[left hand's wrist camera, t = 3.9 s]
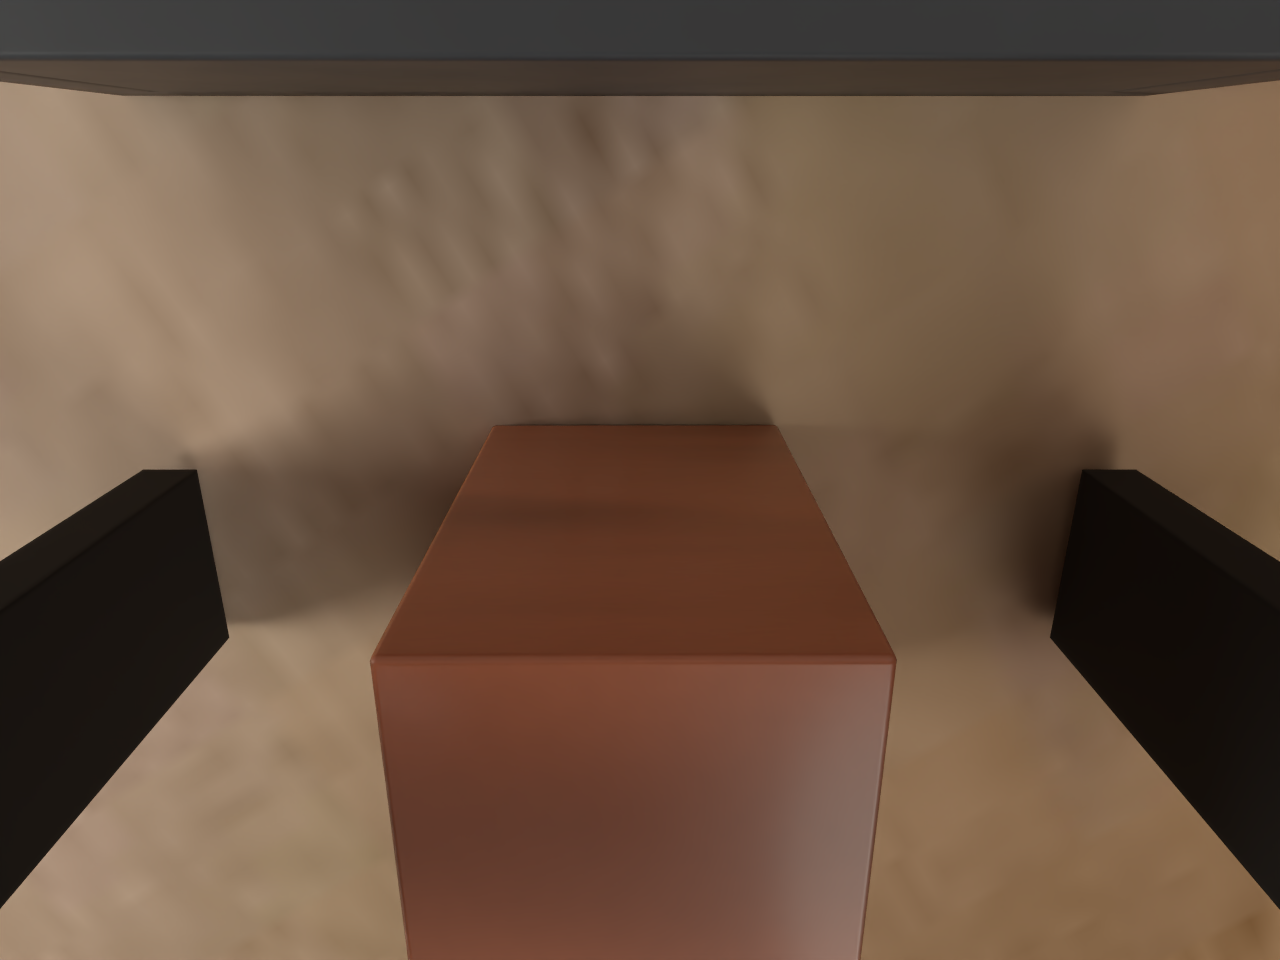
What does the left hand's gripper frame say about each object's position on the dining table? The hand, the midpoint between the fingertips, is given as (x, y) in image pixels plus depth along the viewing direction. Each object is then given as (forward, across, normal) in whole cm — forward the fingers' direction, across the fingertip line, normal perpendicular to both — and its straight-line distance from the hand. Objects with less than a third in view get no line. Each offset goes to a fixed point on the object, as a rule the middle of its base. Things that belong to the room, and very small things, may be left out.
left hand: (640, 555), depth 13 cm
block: (0, 0, 0) cm, 0 cm away
